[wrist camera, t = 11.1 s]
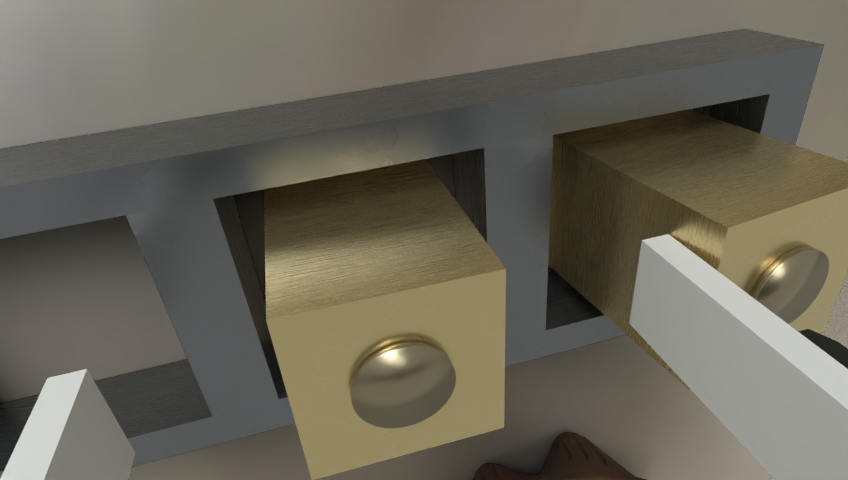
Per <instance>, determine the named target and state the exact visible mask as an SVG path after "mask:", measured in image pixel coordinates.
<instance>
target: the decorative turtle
mask: <svg viewBox="0 0 848 480" xmlns="http://www.w3.org/2000/svg"><path fill="white" fill-rule="evenodd" d="M473 480H646V479H642V478H638V477H635V476H634V475H632V474H631V473H629V472H628V471H627V470H626V469H624V468H623V467H622V466H621V465H620V464H618V463H617V462H616V461H615V460H613V459H612V458H611V457H609V456H608V455H607V454H605V453H604V452H603V451H601V450H600V449H599V448H598V447H596V446H595V445H594V444H593V443H591V442H590V441H589V440H587V439H586V438H585V437H582V436H580V435H578V434H576V433H569V432H566V433H564V434H562V435H560V436H558V437H557V439H556V440H555V442H554V444H553V446H552V449H551V451H550V453H549V456H548V459H547V462H546V464H545V466H544V469H543V470H542V471H541V473H539V474H536V475H526V474H521V473H518V472H516V471H514V470H511V469H509V468H507V467H504V466H501V465H497V464H491V463H488V464H485V465H483V466H482V467H480V469H479V470H478V471H477V473H476V475H475V477H474V479H473Z"/></svg>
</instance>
